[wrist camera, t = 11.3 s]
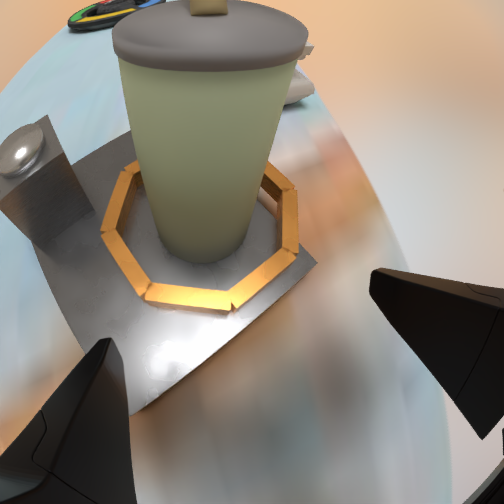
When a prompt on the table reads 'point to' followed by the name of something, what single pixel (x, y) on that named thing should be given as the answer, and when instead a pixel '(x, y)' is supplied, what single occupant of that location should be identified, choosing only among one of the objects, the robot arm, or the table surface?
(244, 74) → the lidded cup with straw
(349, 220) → the table surface
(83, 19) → the electronic game
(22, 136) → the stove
